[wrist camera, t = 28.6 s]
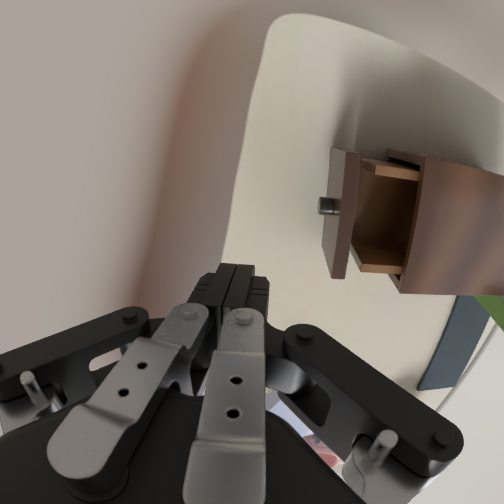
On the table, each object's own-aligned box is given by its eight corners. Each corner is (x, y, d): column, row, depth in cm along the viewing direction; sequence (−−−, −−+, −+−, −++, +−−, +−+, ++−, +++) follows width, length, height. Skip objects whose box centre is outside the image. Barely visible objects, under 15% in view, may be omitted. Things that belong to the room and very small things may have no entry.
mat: (465, 267, 31) (467, 269, 31) (504, 270, 31) (506, 272, 30) (416, 388, 40) (417, 391, 39) (453, 384, 39) (454, 386, 39)
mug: (280, 447, 49) (279, 472, 43) (294, 421, 45) (293, 449, 39) (338, 451, 48) (340, 475, 43) (358, 426, 44) (362, 452, 39)
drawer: (310, 244, 32) (316, 278, 25) (318, 145, 28) (330, 149, 21) (424, 253, 31) (453, 285, 23) (439, 164, 27) (478, 175, 19)
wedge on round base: (247, 385, 42) (291, 426, 45) (241, 419, 36) (290, 457, 39) (299, 363, 39) (338, 409, 43) (299, 399, 33) (342, 441, 36)
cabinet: (372, 251, 32) (399, 293, 23) (386, 148, 28) (425, 156, 19) (465, 259, 31) (505, 295, 22) (483, 169, 26) (533, 186, 18)
